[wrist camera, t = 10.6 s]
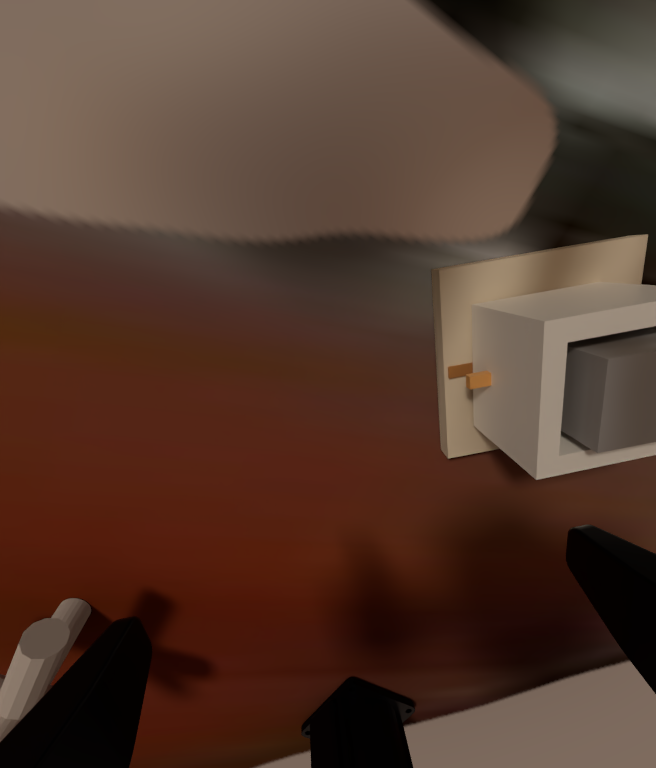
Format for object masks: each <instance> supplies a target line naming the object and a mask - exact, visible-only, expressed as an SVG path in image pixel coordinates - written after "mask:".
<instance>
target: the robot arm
mask: <svg viewBox="0 0 656 768" xmlns="http://www.w3.org/2000/svg"><path fill="white" fill-rule="evenodd" d="M566 561H567V564H568V567H569V569H570V571H571V572H572V574H573V575H574V577H575V578H576V580H577V582H578V583H579V585H580V586H581V588H582V589H583V591H584V592H585V594H586V595H587V597H588V599H589V600H590V602H591V603H592V605H593V606H594V608H595V609H596V611H597V612H598V614H599V616H600V617H601V619H602V620H603V622H604V623H605V625H606V626H607V628H608V630H609V631H610V633H611V634H612V636H613V637H614V639H615V640H616V642H617V643H618V644H619V646H620V647H621V649H622V650H623V651H624V653H625V654H626V656H627V657H628V658H629V660H630V661H631V662H632V664H633V665H634V666H635V668H636V669H637V670H638V671H639V673H640V674H641V675H642V676H643V678H644V679H645V681H646V682H647V683H648V684H649V686H650V687H651V688H652V690H653V691H654V692H655V694H656V554H655V553H653V552H650V551H648V550H646V549H644V548H641V547H639V546H637V545H635V544H633V543H630V542H628V541H626V540H624V539H622V538H619V537H617V536H615V535H613V534H611V533H608V532H606V531H604V530H602V529H600V528H597V527H595V526H592V525H583V526H578V527H573V528H571V529H570V530H569V531H568V538H567V549H566ZM151 658H152V644H151V641H150V639H149V637H148V635H147V633H146V630H145V628H144V626H143V624H142V622H141V620H140V618H138V617H137V616H132V617H128V618H123V619H118V620H116V621H115V622H113V623H112V624H111V625H110V626H109V627H108V628H107V629H106V630H105V631H104V632H103V633H102V634H101V636H100V637H99V638H98V639H97V640H96V641H95V642H94V643H93V644H92V645H91V646H90V647H89V648H88V649H87V650H86V651H85V653H84V654H83V655H82V656H81V657H80V658H79V659H78V660H77V661H76V662H75V663H74V664H73V665H72V666H71V667H70V668H69V670H68V671H67V672H66V673H65V674H64V675H63V676H62V677H61V678H60V679H59V680H58V681H57V682H56V683H55V684H54V685H53V687H52V688H51V689H50V690H49V691H48V692H47V693H46V694H45V695H44V696H43V697H42V698H41V699H40V700H39V701H38V702H37V704H36V705H35V706H34V707H33V708H32V709H31V710H30V711H29V712H28V713H27V714H26V715H25V716H24V717H23V718H22V719H21V721H20V722H19V723H18V724H17V725H16V726H15V727H14V728H13V729H12V730H11V731H10V732H9V733H8V734H7V735H6V736H5V738H4V739H3V740H2V741H1V742H0V768H129V765H130V762H131V758H132V754H133V749H134V745H135V740H136V735H137V730H138V725H139V720H140V715H141V709H142V704H143V699H144V694H145V689H146V684H147V679H148V673H149V668H150V663H151ZM414 712H415V708H414V704H413V702H412V701H410V700H407V699H405V698H402V697H400V696H397V695H395V694H392V693H390V692H387V691H384V690H382V689H379V688H377V687H374V686H372V685H369V684H367V683H364V682H362V681H359V680H357V679H353V678H351V679H348V680H346V681H345V682H344V683H343V684H342V685H341V686H340V687H339V688H338V689H337V690H336V691H335V692H334V693H333V694H332V695H331V696H330V697H329V698H328V699H327V700H326V701H325V702H324V703H323V704H322V705H321V706H320V707H319V708H318V709H317V711H316V712H315V713H314V714H313V715H312V716H311V717H310V718H309V719H308V720H307V721H306V722H305V723H304V724H303V725H302V727H301V729H302V736H304V737H307V738H310V744H311V768H413V765H412V761H411V757H410V752H409V749H408V744H407V740H406V736H405V731H404V727H403V722H404V721H405V720H406V719H407V718H409V717H410V716H411V715H412V714H413V713H414Z"/></svg>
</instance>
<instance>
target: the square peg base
mask: <svg viewBox="0 0 656 768" xmlns="http://www.w3.org/2000/svg"><path fill="white" fill-rule="evenodd" d="M647 239H648V235H633V236H625V237H619V238H613V239H607V240H601V241H595V242H589V243H584V244H578V245H572V246H566V247H560V248H554V249H548V250H542V251H536V252H530V253H525V254H519V255H513V256H507V257H501V258H495V259H489V260H483V261H477V262H472V263H466V264H460V265H454V266H448V267H442V268H436V269H431V275H432V293H433V312H434V330H435V349H436V367H437V385H438V404H439V422H440V441H441V450H442V451H443V453H444V454H445V455H446V457H447V458H448V459H449V458H454V457H459V456H464V455H470V454H475V453H480V452H485V451H491V450H496V449H500V448H499V447H498V446H497V445H495V444H494V443H493V442H492V441H491V440H490V439H488V438H487V437H486V436H485V435H484V434H483V433H482V432H480V431H479V430H478V429H477V428H476V427H475V426H474V417H473V389H469V388H467V387H466V374H471V373H473V358H472V304H477V303H482V302H488V301H494V300H499V299H505V298H511V297H516V296H522V295H527V294H533V293H539V292H544V291H550V290H556V289H561V288H567V287H572V286H578V285H584V284H589V283H595V282H611V283H625V284H640V285H641V282H642V275H643V267H644V260H645V253H646V246H647ZM561 431H563V432H565V433H566V434H568V435H569V436H571V437H572V438H574V439H576V440H577V441H579V442H580V443H582V444H584V445H585V446H587V447H588V448H590V449H591V450H593V451H595V452H596V453H601V452H606V451H612V450H617V449H622V448H627V447H632V446H637V445H643V444H648V443H653V442H656V330H654V329H649V328H643V329H637V330H632V331H627V332H621V333H616V334H611V335H605V336H600V337H595V338H589V339H584V340H579V341H573V342H568V345H567V358H566V371H565V384H564V397H563V410H562V423H561Z"/></svg>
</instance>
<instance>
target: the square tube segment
mask: <svg viewBox="0 0 656 768" xmlns="http://www.w3.org/2000/svg"><path fill="white" fill-rule="evenodd" d="M643 328H649V329H654V330H656V286H655V285H640V284H625V283H611V282H595V283H589V284H584V285H578V286H572V287H567V288H561V289H556V290H550V291H544V292H539V293H533V294H527V295H522V296H516V297H511V298H505V299H499V300H494V301H488V302H482V303H477V304H472V358H473V373H471V374H466V387H467V388H469V389H473V417H474V426H475V427H476V428H477V429H478V430H479V431H480V432H482V433H483V434H484V435H485V436H486V437H487V438H488V439H490V440H491V441H492V442H493V443H494V444H495V445H497V446H498V447H499V448H500V449H501V450H502V451H503V452H505V453H506V454H507V455H508V456H509V457H510V458H511V459H513V460H514V461H515V462H516V463H517V464H518V465H520V466H521V467H522V468H523V469H524V470H525V471H526V472H528V473H529V474H530V475H531V476H532V477H533V478H535V479H536V480H538V479H543V478H548V477H553V476H557V475H562V474H567V473H572V472H576V471H581V470H586V469H591V468H595V467H600V466H605V465H610V464H614V463H619V462H624V461H629V460H633V459H638V458H643V457H648V456H652V455H656V442H653V443H648V444H643V445H637V446H632V447H627V448H622V449H617V450H612V451H606V452H601V453H596V452H595V451H593V450H591V449H590V448H588V447H587V446H585V445H584V444H582V443H580V442H579V441H577V440H576V439H574V438H572V437H571V436H569V435H568V434H566V433H565V432H563V431H561V423H562V410H563V397H564V384H565V371H566V358H567V345H568V342H573V341H579V340H584V339H589V338H595V337H600V336H605V335H611V334H616V333H621V332H627V331H632V330H637V329H643Z"/></svg>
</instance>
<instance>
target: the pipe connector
mask: <svg viewBox="0 0 656 768" xmlns="http://www.w3.org/2000/svg"><path fill="white" fill-rule="evenodd" d="M90 614H91V607H90V605H89V604H88V603H87V602H85V601H84V600H81V599H77V598H70V599H66V600H64V601H63V602H62V603H61V604H60V605H59V607H58V608H57V610H56V611H55V613H54V614H53V616H52V617H51V618H45V619H43V620H40V621H38V622H35V623H33V624H32V625H31V626H30V627H29V628H28V629H26V630H25V631H24V632H23V634H22V637H21V640H20V642H19V645H18V647H17V650H16V652H15V655H14V657H13V660H12V662H11V665H10V667H9V670H8V672H7V675H6V676H5V675H1V674H0V742H1V741H2V740H3V739H4V738H5V736H6V735H7V734H8V733H9V732H10V731H11V730H12V729H13V728H14V727H15V726H16V725H17V724H18V723H19V722H20V721H21V719H22V718H23V717H24V716H25V715H26V714H27V713H28V712H29V711H30V710H31V709H32V708H33V707H34V706H35V705H36V704H37V702H38V701H39V700H40V699H41V698H42V697H43V696H44V695H45V694H46V693H47V692H48V691H49V690H50V689H51V688H52V687H53V686H52V685H50V684H51V682H52V681H53V679H54V677H55V675H56V674H57V672H58V670H59V668H60V667H61V665H62V663H63V661H64V660H65V658H66V656H67V654H68V652H69V651H70V649H71V647H72V645H73V644H74V642H75V640H76V638H77V637H78V635H79V633H80V631H81V630H82V628H83V626H84V624H85V622H86V621H87V619H88V617H89V615H90Z"/></svg>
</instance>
